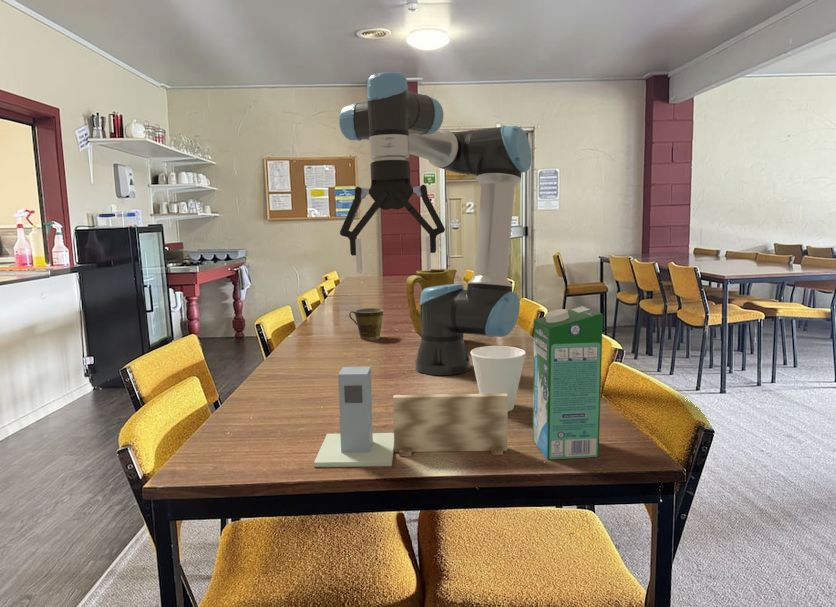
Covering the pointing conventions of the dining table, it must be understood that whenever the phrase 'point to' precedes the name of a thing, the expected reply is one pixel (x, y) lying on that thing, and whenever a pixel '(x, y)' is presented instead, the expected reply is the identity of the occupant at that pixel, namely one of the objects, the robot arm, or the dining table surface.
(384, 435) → the mat
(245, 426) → the dining table surface
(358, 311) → the ceramic cup
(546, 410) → the milk carton
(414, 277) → the pitcher
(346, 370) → the block
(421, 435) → the birch screen
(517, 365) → the cup
